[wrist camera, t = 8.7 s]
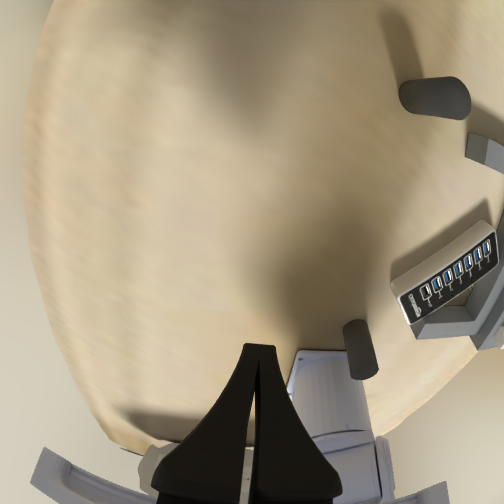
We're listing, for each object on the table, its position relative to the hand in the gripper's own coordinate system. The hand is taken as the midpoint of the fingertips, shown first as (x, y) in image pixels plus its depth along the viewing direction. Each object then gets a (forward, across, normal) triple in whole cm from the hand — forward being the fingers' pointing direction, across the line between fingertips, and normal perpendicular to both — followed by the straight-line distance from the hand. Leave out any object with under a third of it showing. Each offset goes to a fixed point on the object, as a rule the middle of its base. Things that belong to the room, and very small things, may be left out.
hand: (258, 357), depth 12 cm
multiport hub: (+10, -16, 0) cm, 19 cm away
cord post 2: (+9, -9, -13) cm, 18 cm away
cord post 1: (+9, -9, +7) cm, 15 cm away
